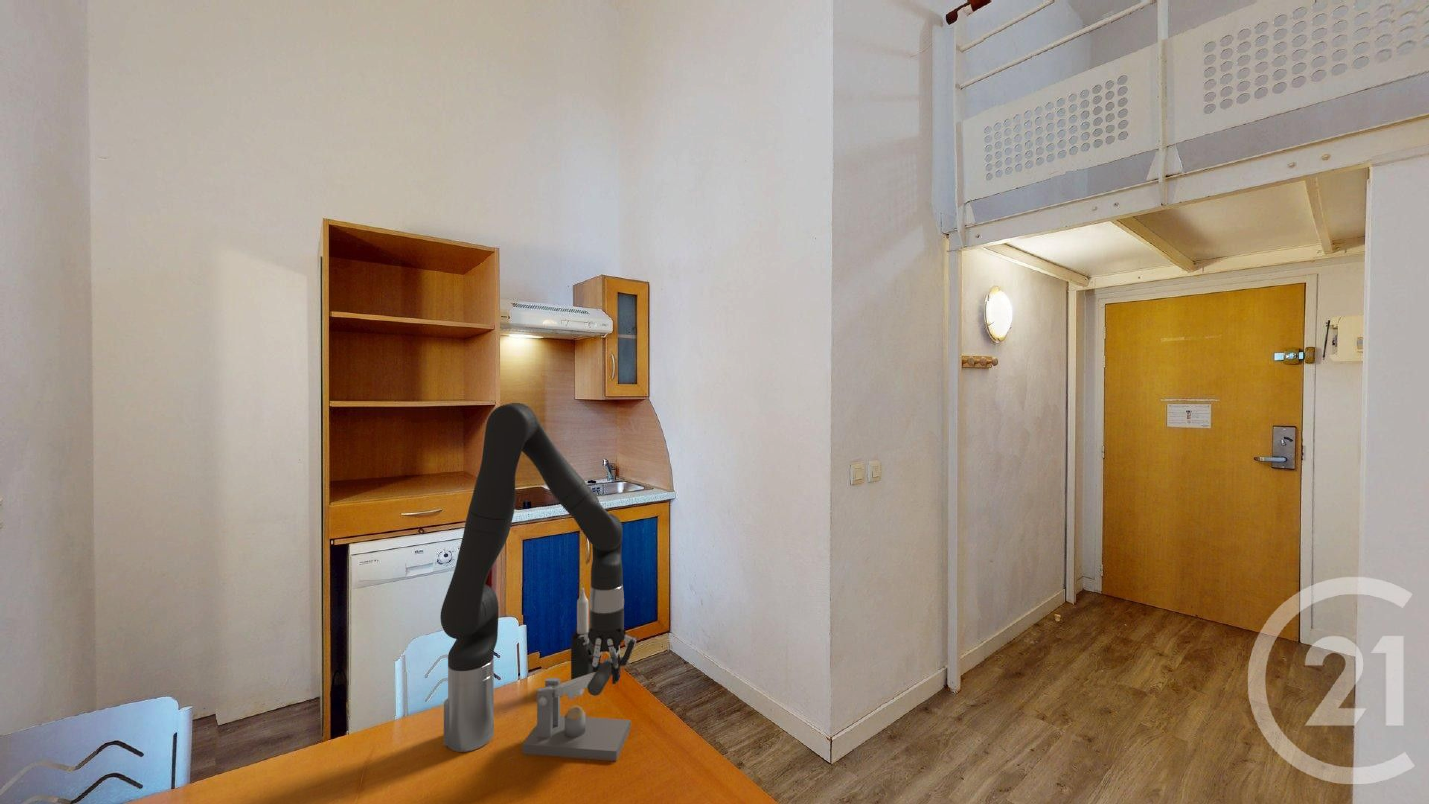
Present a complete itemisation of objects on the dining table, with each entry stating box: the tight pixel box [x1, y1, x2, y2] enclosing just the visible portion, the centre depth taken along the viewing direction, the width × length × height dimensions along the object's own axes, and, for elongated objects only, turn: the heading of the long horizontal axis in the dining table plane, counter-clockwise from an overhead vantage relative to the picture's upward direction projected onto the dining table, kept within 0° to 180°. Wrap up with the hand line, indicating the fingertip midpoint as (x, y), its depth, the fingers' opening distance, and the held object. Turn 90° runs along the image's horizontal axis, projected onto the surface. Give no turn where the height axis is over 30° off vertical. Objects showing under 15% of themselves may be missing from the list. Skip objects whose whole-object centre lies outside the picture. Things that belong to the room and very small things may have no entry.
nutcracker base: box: [521, 677, 632, 762], centre depth 118 cm, size 20×11×12 cm, turn 84°
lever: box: [546, 657, 613, 700], centre depth 118 cm, size 16×10×4 cm, turn 84°
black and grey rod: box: [570, 587, 595, 680], centre depth 143 cm, size 5×5×25 cm
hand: (607, 681), depth 121 cm, fingers closed on lever, 3 cm apart
